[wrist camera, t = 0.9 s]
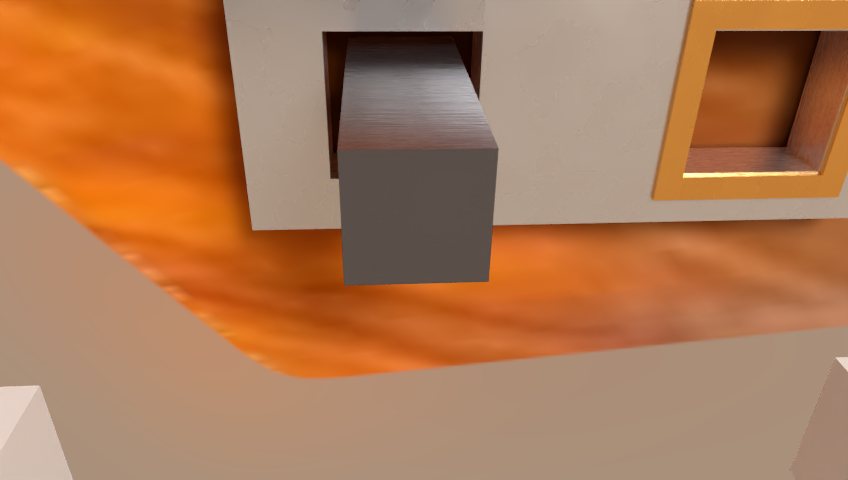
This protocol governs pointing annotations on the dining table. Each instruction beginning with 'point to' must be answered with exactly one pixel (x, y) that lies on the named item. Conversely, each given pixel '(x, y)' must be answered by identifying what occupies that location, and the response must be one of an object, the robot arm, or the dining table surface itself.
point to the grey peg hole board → (554, 107)
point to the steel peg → (413, 165)
